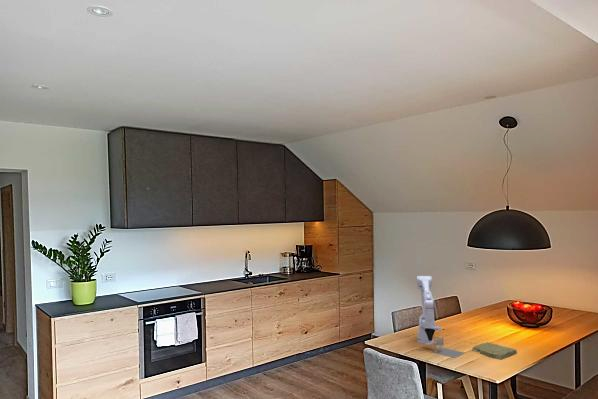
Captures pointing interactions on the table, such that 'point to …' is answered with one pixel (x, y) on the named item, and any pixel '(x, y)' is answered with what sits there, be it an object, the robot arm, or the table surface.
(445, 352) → the mat
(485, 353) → the decorative tile
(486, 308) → the table surface
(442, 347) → the slab
